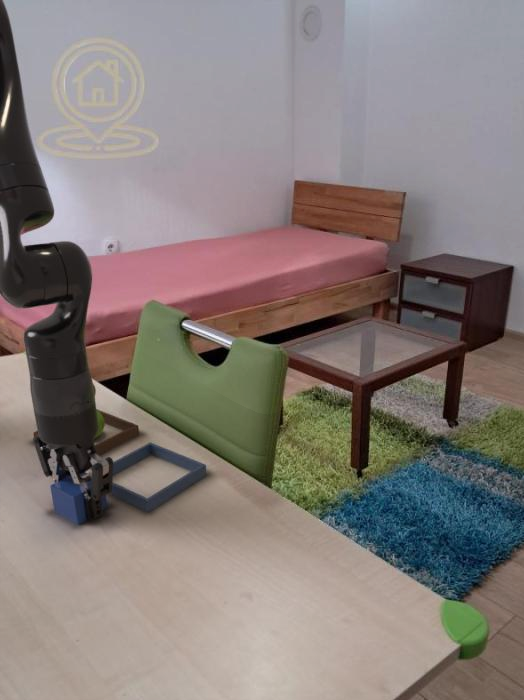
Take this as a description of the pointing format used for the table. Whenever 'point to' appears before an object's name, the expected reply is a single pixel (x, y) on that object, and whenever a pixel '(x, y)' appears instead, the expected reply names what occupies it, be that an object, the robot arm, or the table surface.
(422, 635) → the table surface
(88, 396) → the robot arm
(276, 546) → the table surface
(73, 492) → the blue block
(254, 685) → the table surface
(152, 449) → the blue tray
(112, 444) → the brown tray
